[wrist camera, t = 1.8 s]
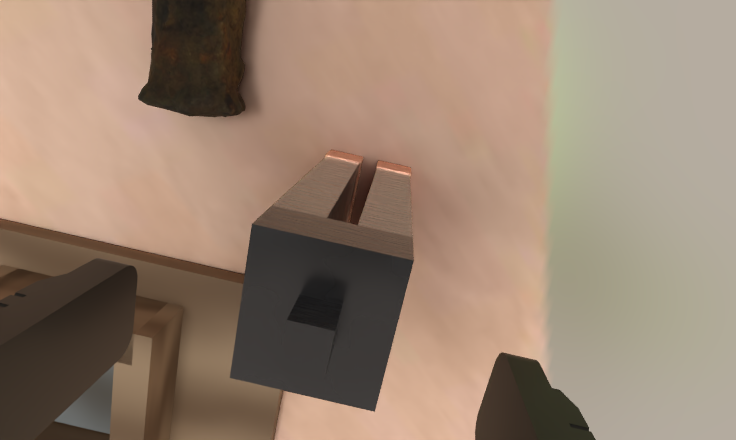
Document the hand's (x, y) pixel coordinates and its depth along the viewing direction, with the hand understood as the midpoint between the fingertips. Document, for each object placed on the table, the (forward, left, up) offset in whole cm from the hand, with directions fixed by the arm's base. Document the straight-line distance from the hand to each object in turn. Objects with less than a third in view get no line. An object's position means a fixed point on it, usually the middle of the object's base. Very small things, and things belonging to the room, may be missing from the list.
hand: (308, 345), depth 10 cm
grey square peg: (0, 0, -12) cm, 12 cm away
